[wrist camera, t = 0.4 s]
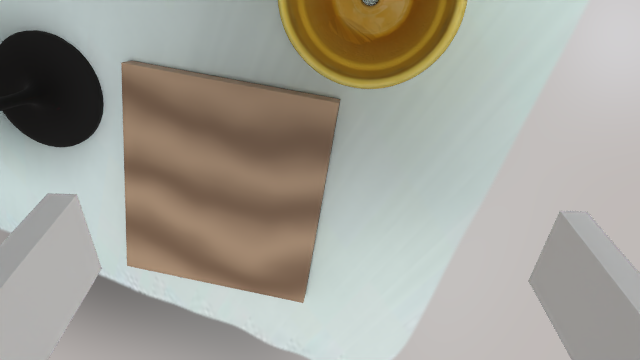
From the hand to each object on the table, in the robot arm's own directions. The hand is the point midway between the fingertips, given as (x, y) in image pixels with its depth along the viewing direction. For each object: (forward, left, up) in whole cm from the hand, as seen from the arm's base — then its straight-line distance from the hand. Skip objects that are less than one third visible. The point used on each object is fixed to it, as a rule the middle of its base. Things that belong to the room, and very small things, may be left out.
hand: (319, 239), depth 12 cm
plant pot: (-7, 0, -25) cm, 25 cm away
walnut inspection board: (+11, -10, -24) cm, 29 cm away
